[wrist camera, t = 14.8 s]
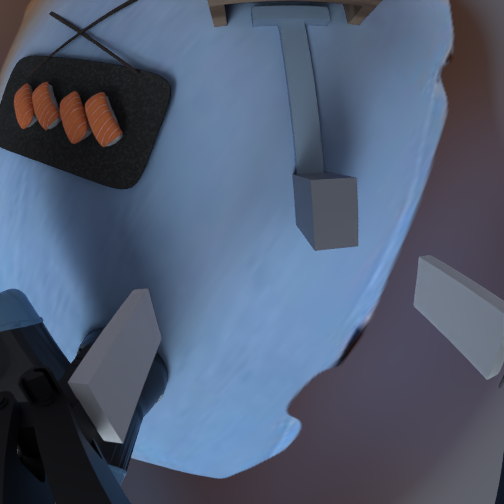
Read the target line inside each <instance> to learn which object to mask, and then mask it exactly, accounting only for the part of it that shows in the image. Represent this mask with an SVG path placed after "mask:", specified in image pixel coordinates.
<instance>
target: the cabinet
mask: <svg viewBox="0 0 504 504" xmlns="http://www.w3.org/2000/svg"><path fill="white" fill-rule="evenodd" d="M259 1H317V2H331V3H342V4H343V5H344V9H345V13H346V17H347V21H348V24H354V25H360V24H361V22H362V21H363V20H364V19H365V18H366V17H367V16H368V15H369V14H370V13H371V12H372V11H373V10H374V9H375V7H376V6H377V5H378V4H379V3H380V2H381V1H382V0H208V4H209V8H210V12H211V15H212V19H213V23H214V27H218V26H226V25H227V20H226V11H225V4H234V3H245V2H259Z"/></svg>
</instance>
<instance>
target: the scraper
mask: <svg viewBox="0 0 504 504" xmlns="http://www.w3.org/2000/svg"><path fill="white" fill-rule="evenodd" d="M251 16H252V23H253V27H254V26H272V25H278V28H279V34H280V40H281V46H282V53H283V60H284V67H285V74H286V81H287V89H288V97H289V105H290V114H291V122H292V131H293V141H294V151H295V161H296V172H297V174H292V176H293V188H294V200H295V213H296V225H297V227H298V228H299V229H300V231H301V232H302V234H303V235H304V236H305V238H306V239H307V240H308V242H309V243H310V245H311V246H312V247H313V249H314V250H315V251H317V250H326V249H335V248H345V247H354V246H358V199H357V178H356V177H351V176H346V175H341V174H335V173H329V172H324V165H323V153H322V142H321V132H320V123H319V114H318V106H317V98H316V91H315V83H314V76H313V70H312V63H311V57H310V51H309V45H308V40H307V34H306V29H305V25H315V26H327V24H328V23H329V21H330V20H331V19H330V15H329V11H328V7H319V6H257V7H251Z"/></svg>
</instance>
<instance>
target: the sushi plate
mask: <svg viewBox="0 0 504 504" xmlns="http://www.w3.org/2000/svg"><path fill="white" fill-rule="evenodd" d="M135 1H137V0H129V1H127V2H125V3H124V4H122V5H120V6H118V7H117V8H115V9H114V10H112V11H110V12H109V13H107V14H106V15H104V16H102V17H101V18H99V19H98V20H96V21H95V22H93V23H92V24H90V25H89V26H88V27H86V28H85V29H83V30H82V31H81V30H80V29H78V28H77V27H75V26H74V25H72V24H71V23H69V22H68V21H66V20H65V19H63V18H61V17H60V16H58V15H57V14H55V13H54V12H50V15H51V16H53V17H54V18H56V19H58V20H59V21H61V22H62V23H64V24H65V25H67V26H69V27H70V28H72V29H73V30H75V31H76V32H78V34H76V35H75V36H74V37H72V38H71V39H70V40H68V41H67V42H66V43H64V44H63V45H62V46H61V47H59V48H58V49H57V50H56V51H54V52H53V53H52V54H51V55H50V56H28V57H24V58H22V59H21V60H19V62H18V63H17V64H16V66H15V67H14V69H13V71H12V73H11V75H10V78H9V80H8V83H7V86H6V88H5V91H4V94H3V97H2V100H1V104H0V147H1V148H3V149H6V150H8V151H11V152H14V153H16V154H19V155H22V156H25V157H27V158H30V159H33V160H36V161H39V162H41V163H44V164H47V165H50V166H52V167H55V168H58V169H61V170H63V171H66V172H69V173H72V174H74V175H77V176H80V177H83V178H85V179H88V180H91V181H94V182H96V183H99V184H102V185H105V186H109V187H112V188H117V189H128V188H131V187H133V186H134V185H135V184H136V183H137V182H138V180H139V179H140V177H141V175H142V173H143V171H144V169H145V166H146V164H147V161H148V159H149V156H150V153H151V151H152V148H153V145H154V143H155V140H156V137H157V135H158V132H159V129H160V127H161V124H162V122H163V119H164V116H165V113H166V111H167V108H168V104H169V101H170V96H171V87H170V84H169V83H168V81H167V80H165V79H164V78H163V77H161V76H159V75H156V74H153V73H150V72H147V71H143V70H139V69H134V68H133V67H131V66H130V65H129V64H127V63H126V62H125V61H123V60H122V59H120V58H119V57H118V56H116V55H115V54H114V53H112V52H111V51H110V50H108V49H107V48H105V47H104V46H103V45H101V44H100V43H98V42H97V41H95V40H94V39H93V38H91V37H90V36H88V35H87V34H85V33H84V32H85V31H86V30H88V29H89V28H91V27H92V26H94V25H95V24H97V23H99V22H100V21H102V20H103V19H105V18H107V17H108V16H110V15H112V14H113V13H115V12H117V11H119V10H120V9H122V8H124V7H126V6H128V5H130V4H132V3H133V2H135ZM79 35H82V36H84V37H85V38H87V39H88V40H90V41H91V42H93V43H94V44H96V45H97V46H98V47H100V48H101V49H103V50H104V51H106V52H107V53H108V54H110V55H111V56H113V57H114V58H115V59H117V60H118V61H119V62H121V63H122V64H124V65H125V66H126V67H125V66H119V65H114V64H108V63H102V62H95V61H88V60H80V59H72V58H62V57H52V56H53V55H54V54H55V53H57V52H58V51H59V50H60V49H62V48H63V47H64V46H66V45H67V44H68V43H70V42H71V41H72V40H74V39H75V38H76V37H78V36H79Z"/></svg>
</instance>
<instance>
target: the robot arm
mask: <svg viewBox="0 0 504 504" xmlns="http://www.w3.org/2000/svg"><path fill="white" fill-rule="evenodd" d="M414 307H415V308H416V309H417V310H419V311H420V312H421V313H422V314H423V315H424V316H425V317H426V318H427V319H428V320H429V321H430V322H431V323H432V324H433V325H434V326H435V327H436V328H437V329H438V330H439V331H440V332H441V333H443V335H444V336H445V337H446V338H447V339H448V340H449V341H450V342H451V343H453V345H454V346H455V347H457V349H458V350H459V351H460V352H461V353H462V354H463V355H464V356H465V357H466V358H467V359H468V360H469V361H470V362H471V363H472V364H473V365H474V366H475V367H476V368H477V370H478V371H479V372H480V373H481V374H482V375H483V376H484V377H485V378H486V379H487V380H488V379H490V378H491V377H493V376H495V375H497V374H499V372H500V370H501V367H502V365H503V362H504V301H503V300H502V299H500V298H498V297H497V296H495V295H494V294H493V293H491V292H489V291H488V290H487V289H485V288H483V287H482V286H480V285H479V284H477V283H475V282H474V281H473V280H471V279H469V278H468V277H466V276H465V275H463V274H461V273H460V272H458V271H456V270H455V269H453V268H451V267H450V266H448V265H446V264H445V263H443V262H441V261H440V260H438V259H436V258H434V257H433V256H431V255H428V256H422V257H419V263H418V273H417V283H416V291H415V299H414ZM161 339H162V338H161V334H160V331H159V327H158V324H157V320H156V316H155V313H154V309H153V305H152V301H151V297H150V293H149V289H148V288H146V289H134V290H133V291H132V292H131V293H130V295H129V296H128V297H127V299H126V300H125V301H124V303H123V304H122V305H121V307H120V308H119V309H118V311H117V312H116V313H115V315H114V316H113V317H112V319H111V320H110V322H109V323H108V324H107V326H106V327H105V328H100V329H96V330H94V331H92V332H91V333H89V334H88V335H87V336H86V338H85V339H84V340H83V342H82V343H81V344H80V346H79V348H78V352H77V356H76V357H75V359H74V360H73V362H72V363H70V362H69V361H68V359H67V358H66V357H65V355H64V354H63V352H62V351H61V349H60V348H59V347H58V345H57V344H56V342H55V341H54V339H53V338H52V336H51V335H50V333H49V331H48V330H47V328H46V327H45V325H44V324H43V319H42V317H39V315H38V314H37V312H36V311H35V309H34V308H33V306H32V305H31V303H30V302H29V300H28V298H27V297H26V295H25V294H24V293H23V292H22V291H20V290H18V289H8V290H6V291H3V292H1V293H0V504H55V503H56V504H131V503H130V501H129V499H128V498H127V496H126V495H125V493H124V492H123V490H122V489H121V487H120V486H121V483H122V480H123V478H124V476H126V473H127V469H128V465H129V462H130V458H131V455H132V452H133V448H134V445H135V442H136V438H137V435H138V432H139V429H140V425H141V422H142V420H143V417H144V416H145V415H146V414H147V413H148V412H149V411H150V409H151V408H152V407H153V406H154V405H155V404H156V403H157V402H158V401H159V400H160V399H161V398H162V396H163V394H164V391H165V388H166V385H167V381H168V375H167V370H166V367H165V365H164V363H163V361H162V359H161V358H160V356H159V355H158V354H157V349H158V347H159V344H160V342H161ZM503 383H504V376H503V378H502V380H501V382H500V385H499V388H501V387H502V385H503ZM17 449H18V454H17ZM495 504H504V455H503V462H502V469H501V476H500V482H499V487H498V492H497V497H496V501H495Z"/></svg>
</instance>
